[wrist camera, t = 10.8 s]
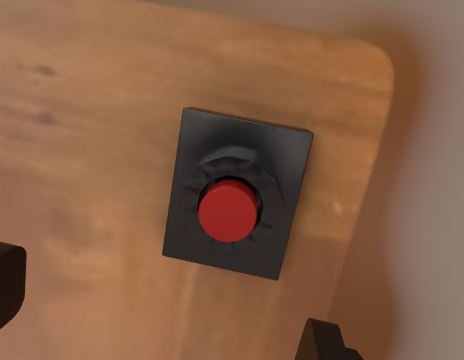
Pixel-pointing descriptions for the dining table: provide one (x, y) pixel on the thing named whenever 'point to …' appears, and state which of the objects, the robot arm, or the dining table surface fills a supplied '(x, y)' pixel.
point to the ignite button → (228, 211)
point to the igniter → (240, 169)
